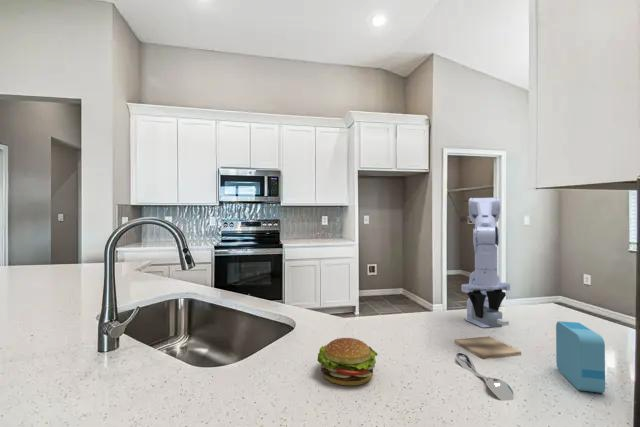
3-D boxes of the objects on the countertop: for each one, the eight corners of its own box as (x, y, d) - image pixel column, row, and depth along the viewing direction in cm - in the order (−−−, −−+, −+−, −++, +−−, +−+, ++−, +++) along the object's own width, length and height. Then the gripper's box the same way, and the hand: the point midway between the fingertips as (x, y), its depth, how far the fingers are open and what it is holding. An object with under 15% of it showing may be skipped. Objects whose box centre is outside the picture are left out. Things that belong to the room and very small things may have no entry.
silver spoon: (450, 345, 87) (468, 345, 87) (450, 358, 87) (467, 358, 87) (496, 389, 67) (519, 388, 67) (496, 406, 67) (518, 406, 67)
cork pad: (454, 342, 99) (454, 339, 99) (489, 339, 101) (489, 336, 101) (482, 358, 87) (482, 355, 87) (521, 354, 90) (521, 351, 90)
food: (381, 365, 83) (381, 333, 83) (371, 393, 70) (371, 355, 70) (328, 357, 88) (329, 327, 88) (309, 382, 74) (310, 346, 74)
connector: (468, 317, 99) (468, 305, 99) (480, 316, 100) (480, 304, 100) (499, 330, 87) (499, 317, 87) (512, 329, 88) (512, 316, 88)
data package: (605, 396, 69) (605, 338, 69) (580, 393, 70) (579, 335, 70) (577, 370, 81) (576, 320, 81) (556, 368, 82) (555, 319, 82)
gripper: (473, 271, 89) (473, 322, 89) (518, 269, 92) (518, 319, 92) (456, 267, 96) (456, 315, 96) (499, 266, 99) (499, 312, 99)
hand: (486, 316), depth 94 cm, fingers closed on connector, 4 cm apart
